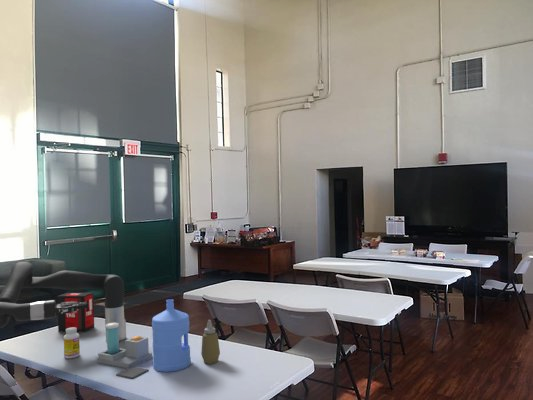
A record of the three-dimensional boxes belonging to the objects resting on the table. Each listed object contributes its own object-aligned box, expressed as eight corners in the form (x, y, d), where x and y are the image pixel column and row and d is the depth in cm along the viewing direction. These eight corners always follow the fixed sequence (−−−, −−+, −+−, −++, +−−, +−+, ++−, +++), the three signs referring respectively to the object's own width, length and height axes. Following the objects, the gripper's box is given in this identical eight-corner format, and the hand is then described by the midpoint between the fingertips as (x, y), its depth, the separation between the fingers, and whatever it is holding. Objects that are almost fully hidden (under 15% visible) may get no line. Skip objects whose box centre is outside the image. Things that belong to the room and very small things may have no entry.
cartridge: (113, 353, 198) (112, 322, 198) (122, 354, 195) (121, 323, 195) (104, 357, 193) (103, 325, 193) (113, 358, 190) (111, 326, 191)
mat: (132, 367, 185) (132, 366, 185) (148, 370, 180) (148, 369, 180) (116, 375, 177) (116, 374, 177) (132, 379, 173) (132, 377, 173)
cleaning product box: (94, 327, 249) (93, 292, 249) (85, 332, 240) (84, 296, 240) (68, 327, 252) (66, 292, 252) (58, 331, 243) (57, 296, 243)
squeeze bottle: (223, 359, 191) (221, 318, 191) (215, 366, 183) (213, 323, 183) (206, 357, 193) (205, 317, 193) (198, 364, 186) (196, 322, 186)
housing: (121, 352, 205) (120, 333, 205) (152, 357, 196) (151, 337, 196) (97, 362, 192) (96, 342, 193) (129, 368, 184) (128, 347, 184)
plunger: (137, 346, 197) (136, 335, 197) (142, 347, 196) (142, 336, 196) (131, 349, 194) (130, 337, 194) (137, 350, 192) (136, 338, 192)
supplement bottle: (73, 359, 198) (72, 331, 198) (61, 358, 199) (60, 330, 199) (82, 354, 204) (81, 326, 204) (70, 353, 206) (69, 326, 206)
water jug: (158, 375, 175) (155, 306, 175) (149, 363, 189) (147, 299, 189) (195, 367, 182) (193, 300, 182) (184, 356, 196) (182, 294, 196)
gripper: (44, 315, 190) (87, 310, 197) (42, 322, 177) (88, 317, 184) (44, 298, 190) (87, 293, 197) (41, 304, 177) (87, 299, 184)
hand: (87, 305), depth 190 cm, fingers closed
